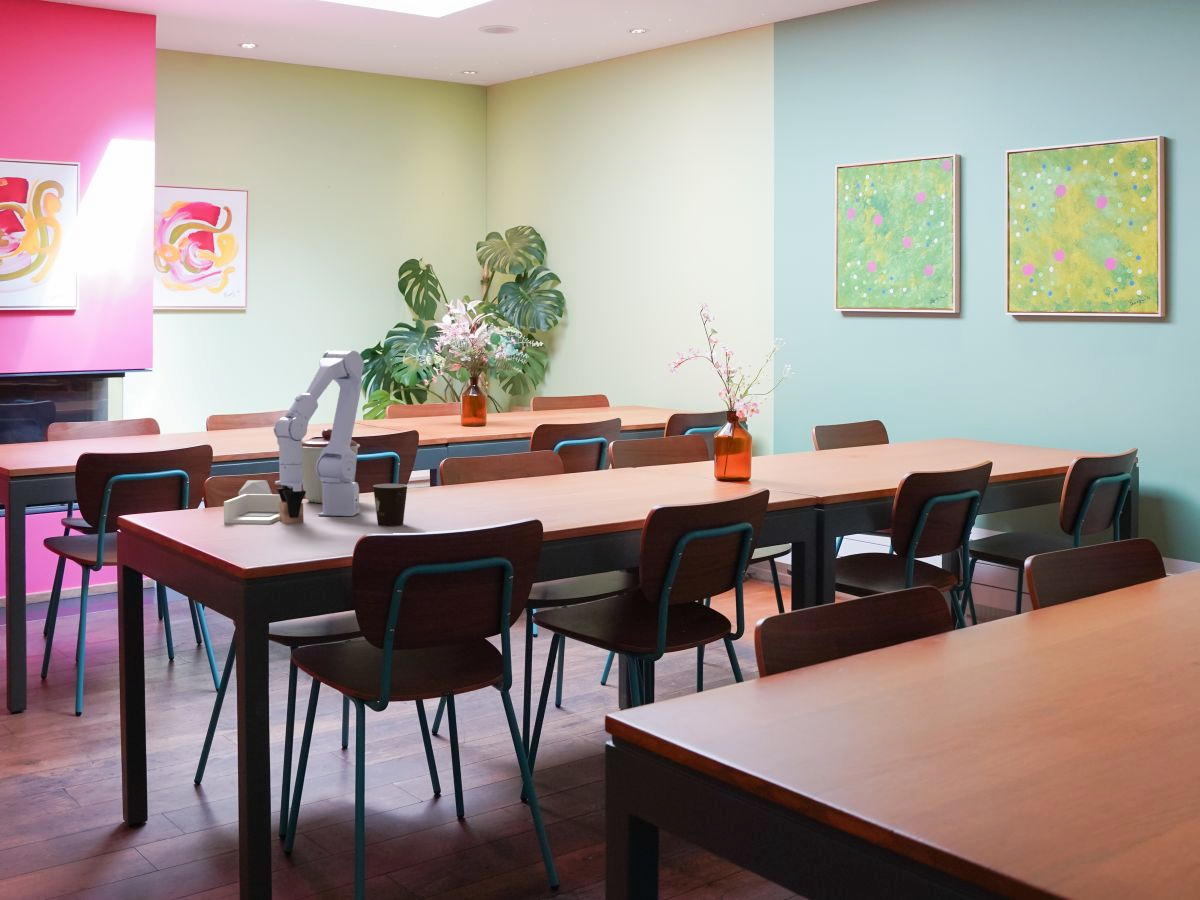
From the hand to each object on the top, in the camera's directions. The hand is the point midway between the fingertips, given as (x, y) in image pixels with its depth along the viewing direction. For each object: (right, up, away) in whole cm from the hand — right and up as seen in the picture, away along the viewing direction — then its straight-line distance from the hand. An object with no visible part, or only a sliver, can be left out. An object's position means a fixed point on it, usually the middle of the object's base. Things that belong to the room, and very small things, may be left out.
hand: (291, 516), depth 324 cm
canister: (+1, +2, +39) cm, 39 cm away
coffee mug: (+26, -2, -5) cm, 27 cm away
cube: (0, -1, 0) cm, 1 cm away
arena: (-10, -1, +4) cm, 11 cm away
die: (-15, 0, +21) cm, 26 cm away
